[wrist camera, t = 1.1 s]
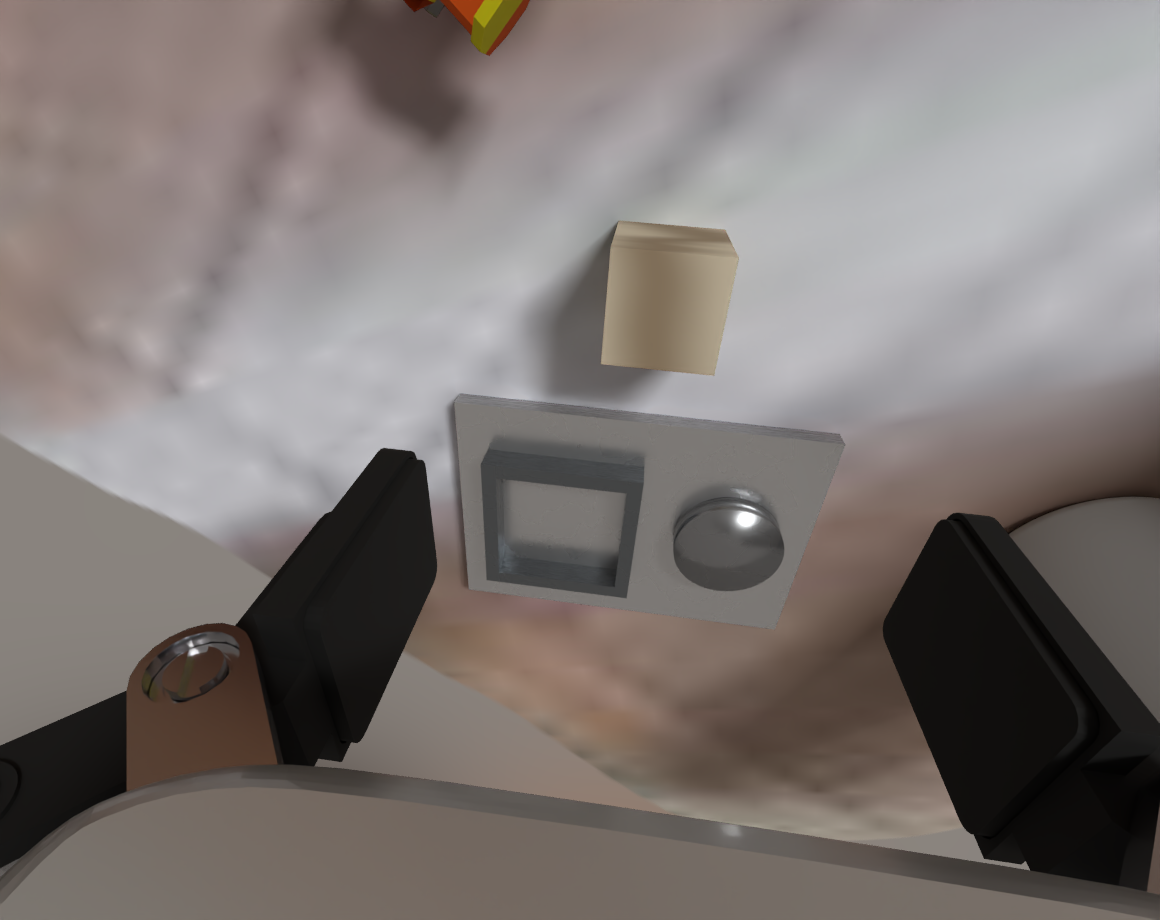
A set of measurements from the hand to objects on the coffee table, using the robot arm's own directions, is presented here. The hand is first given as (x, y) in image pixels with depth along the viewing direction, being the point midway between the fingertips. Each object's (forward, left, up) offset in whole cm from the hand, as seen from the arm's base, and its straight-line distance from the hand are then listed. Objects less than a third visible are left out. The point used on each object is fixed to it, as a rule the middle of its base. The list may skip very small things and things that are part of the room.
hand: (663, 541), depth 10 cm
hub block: (0, 0, -18) cm, 18 cm away
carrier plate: (0, +14, -18) cm, 23 cm away
